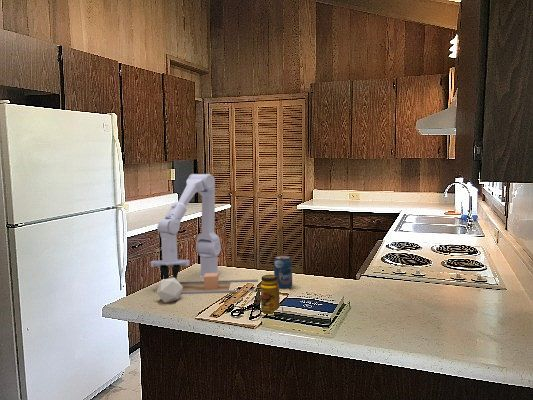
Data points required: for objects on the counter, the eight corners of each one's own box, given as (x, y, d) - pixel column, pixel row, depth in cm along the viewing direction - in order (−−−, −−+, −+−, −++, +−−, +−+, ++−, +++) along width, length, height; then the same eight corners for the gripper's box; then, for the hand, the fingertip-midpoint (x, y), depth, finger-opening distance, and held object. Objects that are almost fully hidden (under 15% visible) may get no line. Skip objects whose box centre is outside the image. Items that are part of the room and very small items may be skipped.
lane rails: (168, 284, 180) (168, 281, 180) (257, 282, 180) (257, 279, 179) (160, 295, 165) (159, 292, 165) (257, 293, 165) (257, 290, 165)
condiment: (258, 316, 141) (257, 279, 140) (261, 307, 150) (260, 272, 149) (281, 316, 141) (280, 279, 140) (283, 307, 149) (282, 272, 148)
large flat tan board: (170, 285, 178) (170, 274, 178) (230, 283, 178) (230, 272, 178) (164, 294, 166) (163, 282, 166) (228, 292, 166) (227, 281, 166)
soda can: (281, 291, 166) (281, 260, 165) (270, 287, 172) (270, 256, 171) (296, 287, 170) (295, 257, 169) (284, 284, 176) (284, 254, 175)
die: (178, 297, 165) (161, 277, 164) (191, 289, 160) (174, 269, 159) (165, 311, 159) (147, 290, 158) (178, 303, 154) (160, 282, 153)
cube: (205, 285, 175) (205, 273, 174) (218, 285, 175) (218, 272, 174) (204, 289, 170) (203, 276, 169) (217, 289, 170) (216, 276, 169)
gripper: (147, 252, 167) (149, 287, 168) (186, 251, 167) (188, 286, 168) (152, 248, 174) (154, 282, 175) (189, 247, 174) (191, 281, 175)
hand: (171, 284), depth 172 cm, fingers closed on large flat tan board, 2 cm apart
